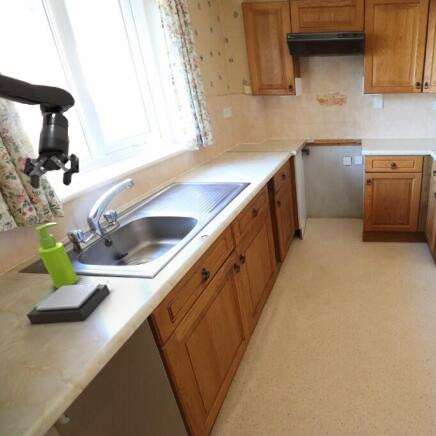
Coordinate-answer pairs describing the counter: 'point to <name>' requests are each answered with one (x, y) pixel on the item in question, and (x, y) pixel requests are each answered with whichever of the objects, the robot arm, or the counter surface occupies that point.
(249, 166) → the counter surface
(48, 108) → the robot arm
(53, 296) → the kitchen scale
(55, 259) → the soap dispenser
